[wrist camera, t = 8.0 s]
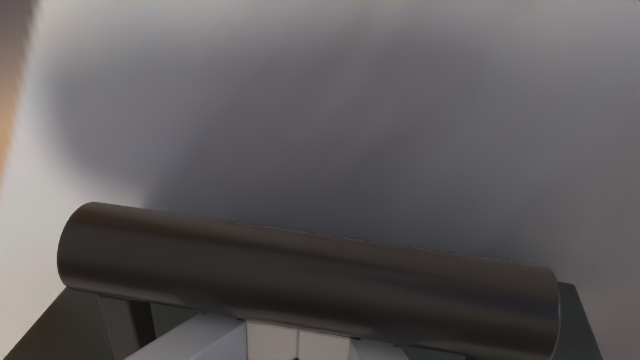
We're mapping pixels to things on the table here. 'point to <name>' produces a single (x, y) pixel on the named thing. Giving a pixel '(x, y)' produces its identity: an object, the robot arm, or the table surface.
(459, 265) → the drawer
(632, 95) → the table surface
